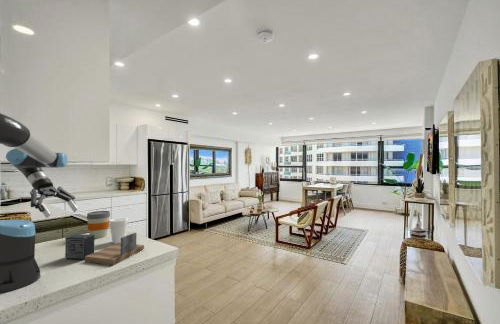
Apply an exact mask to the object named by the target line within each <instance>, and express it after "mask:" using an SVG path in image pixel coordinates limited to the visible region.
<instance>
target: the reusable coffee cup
mask: <svg viewBox="0 0 500 324" xmlns="http://www.w3.org/2000/svg"><path fill="white" fill-rule="evenodd" d="M110 217H111V212H110V211H109V210H97V211H90V212H87V214H86V219H87V223H86V225H87V230H88V233H89V234H88V235H95V236H94V240H95V239H102V238H104V237H106V236H107V235H108V229H109V227H110V220H111V219H110Z"/></svg>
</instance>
